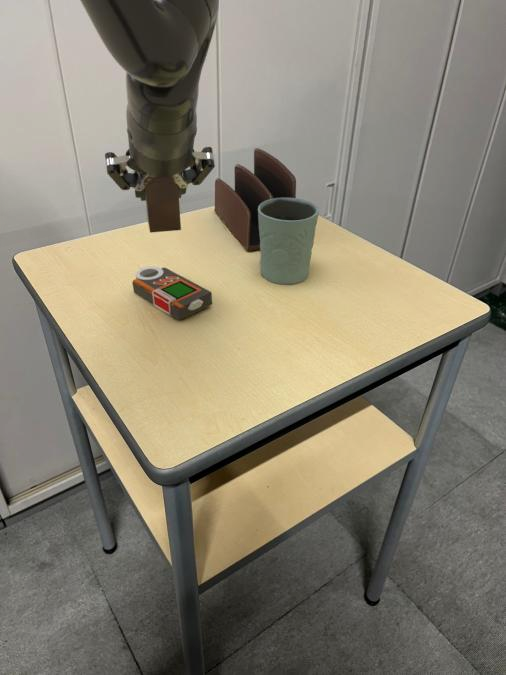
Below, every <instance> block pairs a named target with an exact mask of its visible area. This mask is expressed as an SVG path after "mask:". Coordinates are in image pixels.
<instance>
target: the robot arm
mask: <svg viewBox="0 0 506 675" xmlns="http://www.w3.org/2000/svg"><path fill="white" fill-rule="evenodd" d="M80 3H81V4H82V6H83V8H84V10H85V12H86V14H87V16H88V18H89V20H90V21H91V23H92V25H93V27H94V29H95V30H96V33H97V35H98V37H99V38H100V40H101V41H102V43H103V45H104V47H105V48H106V50H107V51H108V52H109V54H110V55H111V57H112V58H113V59H114V60H115V62H116V63H117V64H118V65H119V66H120V67H121V68H122V69H123V70H124V71H125V87H126V88H125V90H126V100H127V104H126V112H125V113H126V114H125V116H126V132H127V139H128V140H127V141H128V149H127V150H126V151H125V154H124V155H118V156H117V154H115V152H112V151H107V152H105V154H104V158H105V166H106V173H107V175H108V176H109V177H110V179H111V180H112V181H113V182H114V183H115V184H116V185H117V186H118V187H119V189H121V191H129V190H130V189H131V188H132V189H134V195H135V198H137V199H140V201H141V202H145V201H146V196H145V187H146V186H149V185H150V184H151V182H152V181H153V179H154V178H159V177H171V178H172V179H173V181H174V183H175V184H177V185H178V192H179V199H182V196H183V195H186V194H187V189H188V187H189V184H192V185H193V186H200V185H201V184H202V183H203V182H204V181H205V180H206V178H207V177H208V176H209V174H210V173H211V172H212V171H213V169H214V168H215V166H216V165H215V164H216V163H215V158H214V152H213V148H212V147H211V146H205V147H203V148H202V150H201V151H195V149H194V146H195V140H196V136H197V131H198V126H197V124H198V114H197V113H198V112H197V107H198V100H199V92H200V80H201V75H202V71H203V68H204V64H205V61H206V58H207V55H208V52H209V49H210V45H211V42H212V39H213V36H214V32H215V28H216V24H217V19H218V15H219V10H220V0H80ZM127 167H128V168H129V169H131V170H132V172H129V170H128V169H127ZM188 168H189V169H188Z"/></svg>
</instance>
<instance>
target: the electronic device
mask: <svg viewBox="0 0 506 675" xmlns="http://www.w3.org/2000/svg"><path fill="white" fill-rule="evenodd" d="M134 276H135V278H134V279H133V280H132V282H131V283H132V284H131V285H132V289H133V293H134V294H136V295H138V296H139V297H141V298H142V299H144V300H146V301H147V302H149V303H151V304H152V305H153V307H155V308H156V309H158V310H160V311H161V312H163V313H165V314H167V315H168V316H170V317H173V318H175V319H177V320H178V321H180V320H181V321H182V320H183V319H184V318H186V317H189V316H191V315H193V314H195V313H197V312H199V311H202V310H203V309H205V308H207V307H210V306H212V305H213V295H212V294H213V293H212V291H210V290H209V289H207V288H204V287H202V286H201V285H200V284H199V285H198V284H197V283H195V282H193V281H191V280H190V279H188V278H186V277H184V276H182V275H180V274H178V273H176V272H174V271H172V270H170V269H169V268H167V267H162V268H161V267H158V266H145V267H142V268H139V269H137V271H135V273H134Z"/></svg>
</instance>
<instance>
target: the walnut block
mask: <svg viewBox="0 0 506 675" xmlns="http://www.w3.org/2000/svg"><path fill="white" fill-rule="evenodd" d="M145 196H146V201H144V202H145V210H146V211H145V212H146V220H147V225H148V229H149V233H150V234H151V233H162V232H175V231H176V232H177V231H181V230H182V224H181V222H182V221H181V209H180V208H181V207H180V198H179V192H178V185H177V184H175V183H174V181H173V179H172V178H171V177H159V178H154V179H153V181H152V182H151V184H150V185H149V186H146V187H145Z"/></svg>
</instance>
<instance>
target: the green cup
mask: <svg viewBox="0 0 506 675" xmlns="http://www.w3.org/2000/svg"><path fill="white" fill-rule="evenodd" d="M319 212H320V209H319V207H318V206H317V205H316V204H315V203H313V202H312V201H308V200H305V199H302V198H297V197H296V198H274V199H270V200H266V201H264V202H262V203H261V204H260V205H259V206H258V221H259V235H260V250H259V252H260V261H259V265H260V275H261V276H262V278H264V279H265V280H266V281H269V282H270V283H273V284H276V285H283V286H285V285H286V286H287V285H288V286H291V285H297V284H300V283H302V282H304V281H305V280H306V279H308V276H309V274H310V268H311V259H312V255H313V247H314V242H315V235H316V229H317V224H318V219H319Z"/></svg>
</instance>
